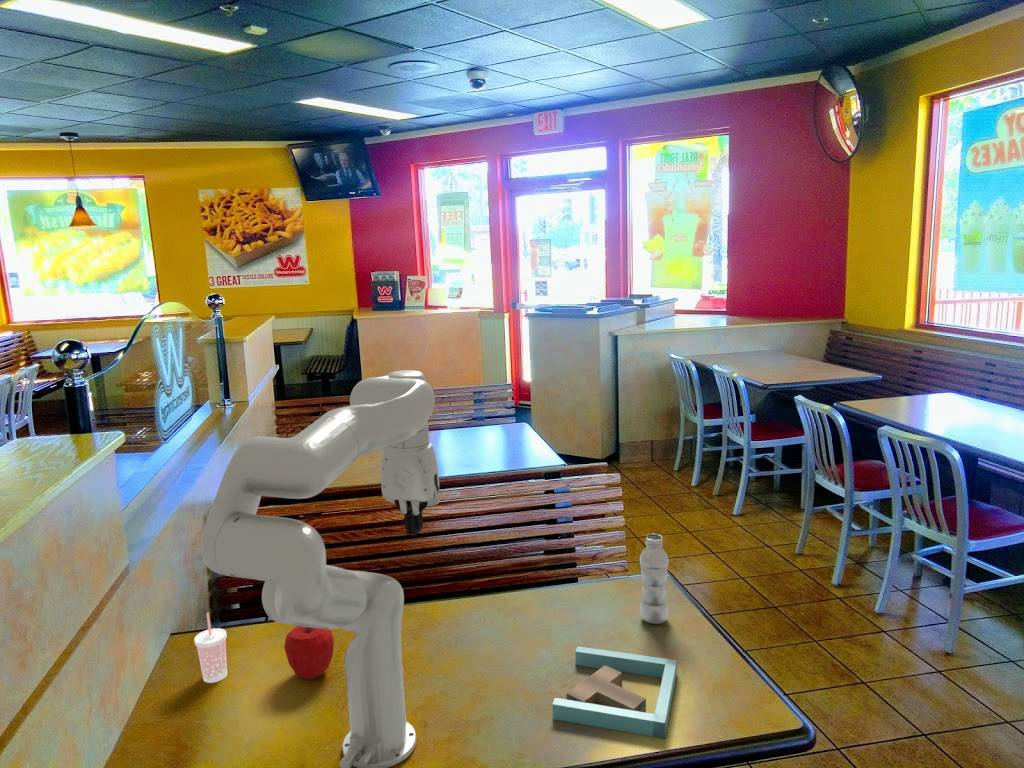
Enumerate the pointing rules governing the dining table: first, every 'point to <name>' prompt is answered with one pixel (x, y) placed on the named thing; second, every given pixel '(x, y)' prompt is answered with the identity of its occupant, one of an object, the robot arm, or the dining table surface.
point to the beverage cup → (212, 653)
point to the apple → (309, 651)
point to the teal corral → (617, 716)
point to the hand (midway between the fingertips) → (414, 532)
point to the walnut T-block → (607, 691)
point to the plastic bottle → (654, 581)
